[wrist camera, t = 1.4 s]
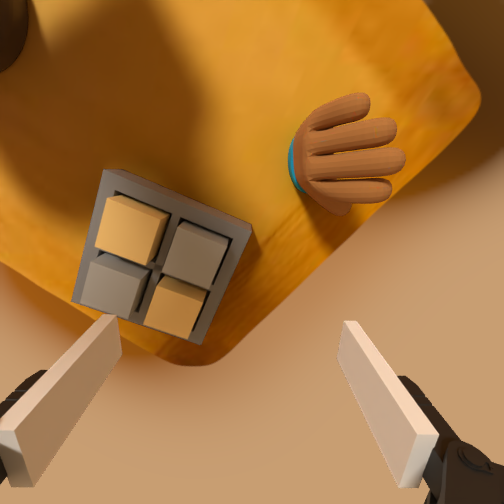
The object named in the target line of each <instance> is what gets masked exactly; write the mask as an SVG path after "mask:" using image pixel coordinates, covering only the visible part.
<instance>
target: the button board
mask: <svg viewBox="0 0 504 504" xmlns="http://www.w3.org/2000/svg"><path fill="white" fill-rule="evenodd" d="M123 194H124V195H127V196H129V197H132V198H134V199H136V200H139V201H141V202H144V203H146V204H149V205H151V206H153V207H156V208H158V209H161V210H163V211H166V212H168V213H170V217H169V220H168V223H167V226H166V229H165V232H164V235H163V238H162V241H161V244H160V247H159V250H158V253H157V255H156V256H155V257H154V258H153V259H152V260H151V261H150V262H149V263H148V264H147V265H143V264H140V263H137V262H135V261H132V260H129V259H127V258H124V257H121V256H119V255H116V254H113V253H111V252H108V251H105V250H103V249H100V248H97V247H95V242H96V239H97V235H98V231H99V227H100V223H101V219H102V215H103V211H104V207H105V203H106V200H107V198H109V197H114V196H119V195H123ZM185 220H187V221H190V222H192V223H195V224H197V225H199V226H202V227H204V228H207V229H209V230H212V231H214V232H216V233H219V234H221V235H224V236H226V237H229V240H228V244H227V248H226V250H225V252H224V255H223V257H222V259H221V262H220V264H219V267H218V269H217V271H216V274H215V276H214V278H213V281H212V283H211V285H210V288H209V289H207V288H204V287H201V286H199V285H196V284H193V283H191V282H188V281H185V280H183V279H180V278H177V277H175V276H172V275H169V274H167V273H164V272H162V269H163V267H164V264H165V261H166V258H167V255H168V253H169V250H170V247H171V244H172V241H173V238H174V236H175V233H176V230H177V227H178V226H179V225H180V224H181V223H183V222H184V221H185ZM251 233H252V228H251V224H249V223H247V222H245V221H242V220H240V219H238V218H235V217H233V216H231V215H228V214H226V213H224V212H221V211H219V210H217V209H214V208H212V207H210V206H207V205H205V204H203V203H200V202H198V201H196V200H193V199H191V198H189V197H186V196H184V195H181V194H179V193H177V192H174V191H172V190H170V189H167V188H165V187H163V186H160V185H158V184H156V183H153V182H151V181H149V180H146V179H144V178H142V177H139V176H137V175H135V174H132V173H130V172H128V171H125V170H123V169H103V173H102V177H101V181H100V185H99V190H98V194H97V198H96V202H95V206H94V210H93V214H92V218H91V222H90V226H89V230H88V235H87V239H86V243H85V247H84V251H83V255H82V259H81V263H80V267H79V271H78V276H77V280H76V284H75V288H74V292H73V296H72V300H71V302H74V303H77V304H80V305H83V306H86V307H89V308H92V309H95V310H98V311H101V312H104V313H107V314H111V313H108V312H105V311H102V310H99V309H96V308H93V307H90V306H87V305H84V304H81V303H80V301H81V297H82V293H83V289H84V285H85V281H86V277H87V274H88V270H89V266H90V262H91V261H92V260H94V259H96V258H97V257H99V256H101V255H102V254H104V253H106V252H107V253H110V254H112V255H115V256H118V257H120V258H123V259H126V260H128V261H131V262H134V263H136V264H139V265H142V266H144V267H147V268H150V269H152V270H151V273H150V276H149V279H148V282H147V285H146V288H145V291H144V294H143V297H142V300H141V303H140V304H139V306H138V307H137V308H136V309H135V311H134V312H133V313H132V314H131V316H130V317H129V318H128V319H126V318H123V317H120V316H117V317H119V318H122V319H125V320H128V321H130V322H133V323H136V324H139V325H142V326H145V327H148V328H151V329H154V330H157V331H160V332H163V333H166V334H169V335H172V336H175V337H178V338H181V339H184V340H187V341H190V342H193V343H196V344H198V345H201V344H202V342H203V339H204V337H205V335H206V333H207V331H208V328H209V326H210V324H211V322H212V319H213V317H214V315H215V313H216V310H217V308H218V306H219V304H220V302H221V299H222V297H223V295H224V293H225V290H226V288H227V286H228V284H229V282H230V279H231V277H232V275H233V273H234V270H235V268H236V266H237V264H238V262H239V259H240V257H241V255H242V253H243V250H244V248H245V246H246V244H247V241H248V239H249V237H250V235H251ZM165 274H166V275H168V276H171V277H174V278H176V279H179V280H182V281H184V282H187V283H190V284H192V285H195V286H198V287H200V288H203V289H206V290H207V292H206V295H205V298H204V301H203V304H202V306H201V309H200V311H199V313H198V316H197V318H196V321H195V323H194V325H193V328H192V330H191V332H190V335H189V337H188V339H185V338H182V337H179V336H176V335H173V334H170V333H167V332H164V331H161V330H158V329H155V328H152V327H149V326H146V325H143V323H144V320H145V318H146V315H147V312H148V309H149V306H150V303H151V301H152V298H153V295H154V292H155V289H156V286H157V285H158V283H159V282H160V281H161V279H162V278H163V277H164V276H165ZM111 315H114V314H111Z"/></svg>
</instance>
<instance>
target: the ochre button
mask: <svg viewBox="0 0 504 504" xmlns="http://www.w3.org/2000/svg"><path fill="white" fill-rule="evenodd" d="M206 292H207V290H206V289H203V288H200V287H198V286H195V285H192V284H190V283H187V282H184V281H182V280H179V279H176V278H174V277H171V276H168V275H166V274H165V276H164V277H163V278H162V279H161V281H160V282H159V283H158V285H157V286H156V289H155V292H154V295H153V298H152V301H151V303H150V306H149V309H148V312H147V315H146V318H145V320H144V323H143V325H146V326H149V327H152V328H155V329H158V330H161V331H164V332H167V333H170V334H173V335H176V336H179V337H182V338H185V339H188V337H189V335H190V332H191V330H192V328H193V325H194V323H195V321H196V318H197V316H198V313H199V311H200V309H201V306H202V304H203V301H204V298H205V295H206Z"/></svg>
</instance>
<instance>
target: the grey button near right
mask: <svg viewBox="0 0 504 504" xmlns="http://www.w3.org/2000/svg"><path fill="white" fill-rule="evenodd" d="M228 240H229V237H226V236H224V235H221V234H219V233H216V232H214V231H212V230H209V229H207V228H204V227H202V226H199V225H197V224H195V223H192V222H190V221H187V220H185V221H184V222H183V223H181V224H180V225H179V226H178V227H177V230H176V233H175V236H174V238H173V241H172V244H171V247H170V250H169V253H168V255H167V258H166V261H165V264H164V267H163V269H162V272H164V273H167V274H169V275H172V276H175V277H177V278H180V279H183V280H185V281H188V282H191V283H193V284H196V285H199V286H201V287H204V288H207V289H209V288H210V285H211V283H212V281H213V278H214V276H215V274H216V271H217V269H218V267H219V264H220V262H221V259H222V257H223V255H224V252H225V250H226V248H227V244H228Z"/></svg>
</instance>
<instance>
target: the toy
mask: <svg viewBox="0 0 504 504" xmlns="http://www.w3.org/2000/svg"><path fill="white" fill-rule="evenodd" d="M369 110H370V98H369V96H368V95H367V94H365V93H354V94H349V95H346V96H343V97H340V98H338V99H335V100H333V101H331V102H329V103H326V104H324V105H322V106H320V107H319V108H317V109H316V110H314V111H313V112H312V113H311V114H310V115H309V116H308V118H307V119H306V120H305V121H304V122H303V123H302V125H301V126H300V128H299V129H298V131H297V132H296V135H295V137H294V138H293V140H292V142H291V145H290V148H289V153H288V168H289V173H290V177H291V179H292V182H293V183H294V185H295V186H296V188H297V189H298V190H300V191H302V192H304V193H307V194H308V195H309V196H310V197H311V198H313V199H314V200H315V201H316V202H317V203H318V204H320V205H321V206H322V207H323V208H325V209H326V210H328V211H329V212H331V213H332V214H334V215H337V216H343V215H345V214H347V213H348V212H349V210H350V209H351V203H361V204H367V203H379V202H382V201H385V200H386V199H388V198H389V196H390V195H391V192H392V185H391V183H390V182H389V181H388V180H386V179H383V178H367V179H343V180H337V178H359V177H378V176H387V175H392V174H395V173H397V172H399V171H401V169H402V168H403V167H404V164H405V161H406V159H405V154H404V152H403V151H402V150H400V149H398V148H379V149H371V150H363V151H356V152H348V153H341V154H334V153H336V152H344V151H352V150H359V149H367V148H374V147H379V146H383V145H386V144H389V143H390V142H391V141H393V139H394V138H395V136H396V132H397V126H396V123H395V121H394V120H393V119H390V118H376V119H371V120H366V121H361V122H356V123H352V124H348V125H343V126H339V127H335V126H338V125H342V124H346V123H350V122H355V121H358V120H360V119H362V118H364V117H365V116H366V115H367V114H368V112H369ZM333 127H335V128H333Z"/></svg>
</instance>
